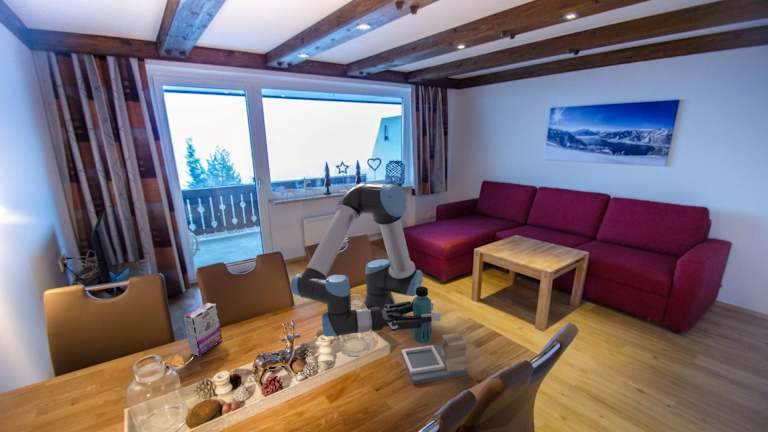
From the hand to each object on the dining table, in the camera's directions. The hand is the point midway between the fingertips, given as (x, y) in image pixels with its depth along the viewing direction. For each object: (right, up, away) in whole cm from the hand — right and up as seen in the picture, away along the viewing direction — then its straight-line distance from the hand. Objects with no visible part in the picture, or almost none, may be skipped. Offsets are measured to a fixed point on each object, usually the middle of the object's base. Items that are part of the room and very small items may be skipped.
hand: (436, 311), depth 113 cm
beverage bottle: (-5, -11, +1) cm, 12 cm away
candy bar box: (-87, -19, +17) cm, 91 cm away
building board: (-1, -20, +3) cm, 20 cm away
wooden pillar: (+6, -18, 0) cm, 19 cm away
